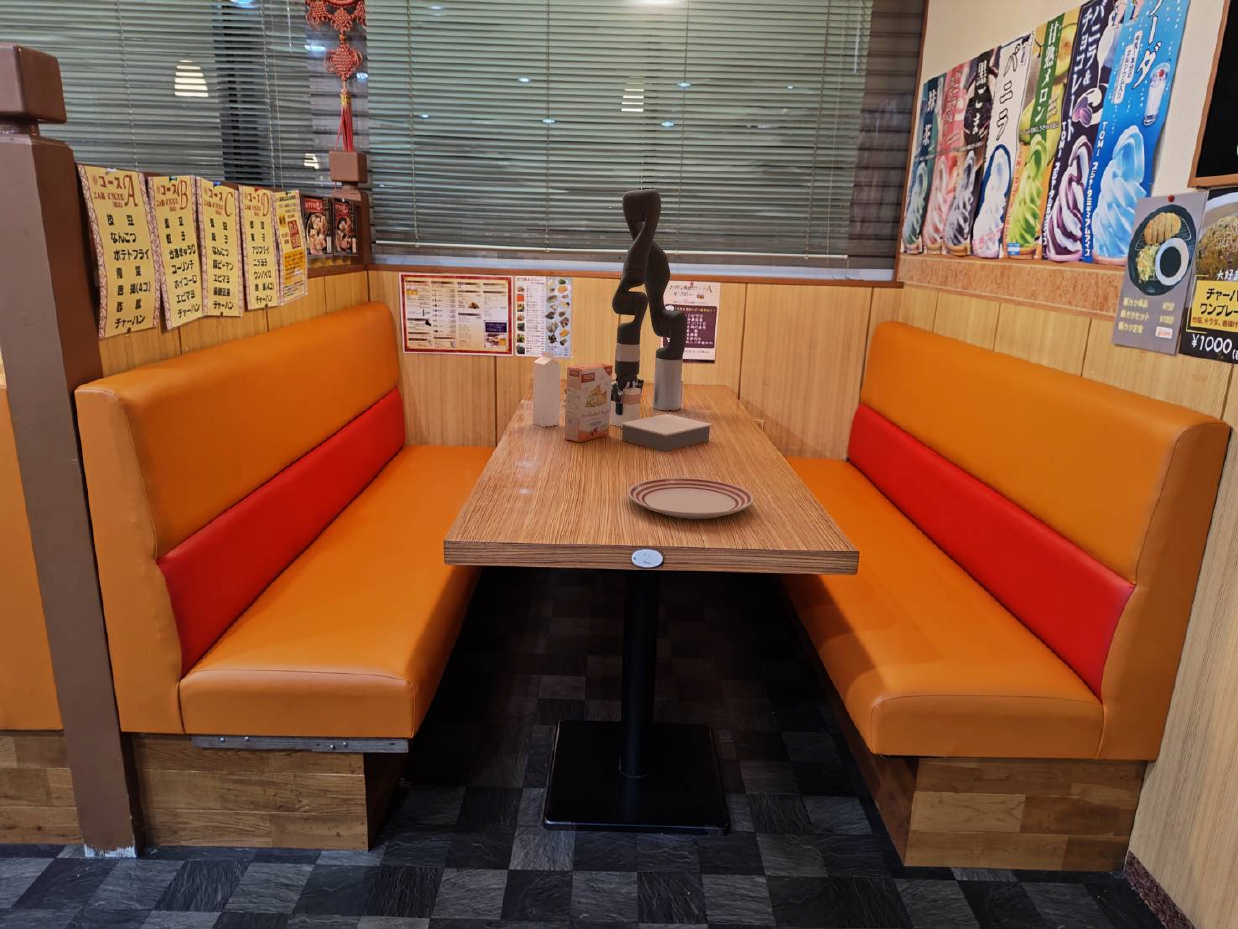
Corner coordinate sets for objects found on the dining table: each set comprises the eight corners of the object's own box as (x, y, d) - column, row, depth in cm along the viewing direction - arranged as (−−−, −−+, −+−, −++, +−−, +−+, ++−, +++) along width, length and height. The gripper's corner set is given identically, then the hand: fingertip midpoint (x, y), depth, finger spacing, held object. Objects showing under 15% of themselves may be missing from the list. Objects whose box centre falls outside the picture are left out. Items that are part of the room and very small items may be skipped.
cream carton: (619, 422, 257) (621, 384, 254) (639, 427, 252) (641, 388, 249) (609, 424, 254) (611, 386, 251) (628, 429, 249) (630, 390, 246)
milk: (542, 427, 247) (543, 354, 241) (532, 423, 251) (533, 351, 245) (559, 425, 250) (561, 353, 244) (549, 421, 255) (550, 350, 249)
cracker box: (579, 443, 229) (582, 369, 223) (563, 439, 232) (565, 366, 227) (610, 435, 240) (613, 364, 234) (594, 432, 243) (597, 361, 238)
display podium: (666, 430, 250) (667, 413, 249) (711, 440, 239) (712, 424, 238) (619, 439, 235) (620, 422, 234) (664, 452, 224) (665, 434, 223)
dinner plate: (601, 502, 180) (601, 488, 179) (683, 481, 199) (684, 468, 198) (696, 537, 161) (698, 521, 160) (777, 510, 180) (779, 496, 179)
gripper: (634, 355, 255) (631, 409, 259) (602, 358, 245) (599, 414, 249) (652, 358, 250) (649, 413, 255) (620, 361, 240) (617, 419, 244)
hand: (624, 413), depth 252 cm, fingers closed on cream carton, 4 cm apart
